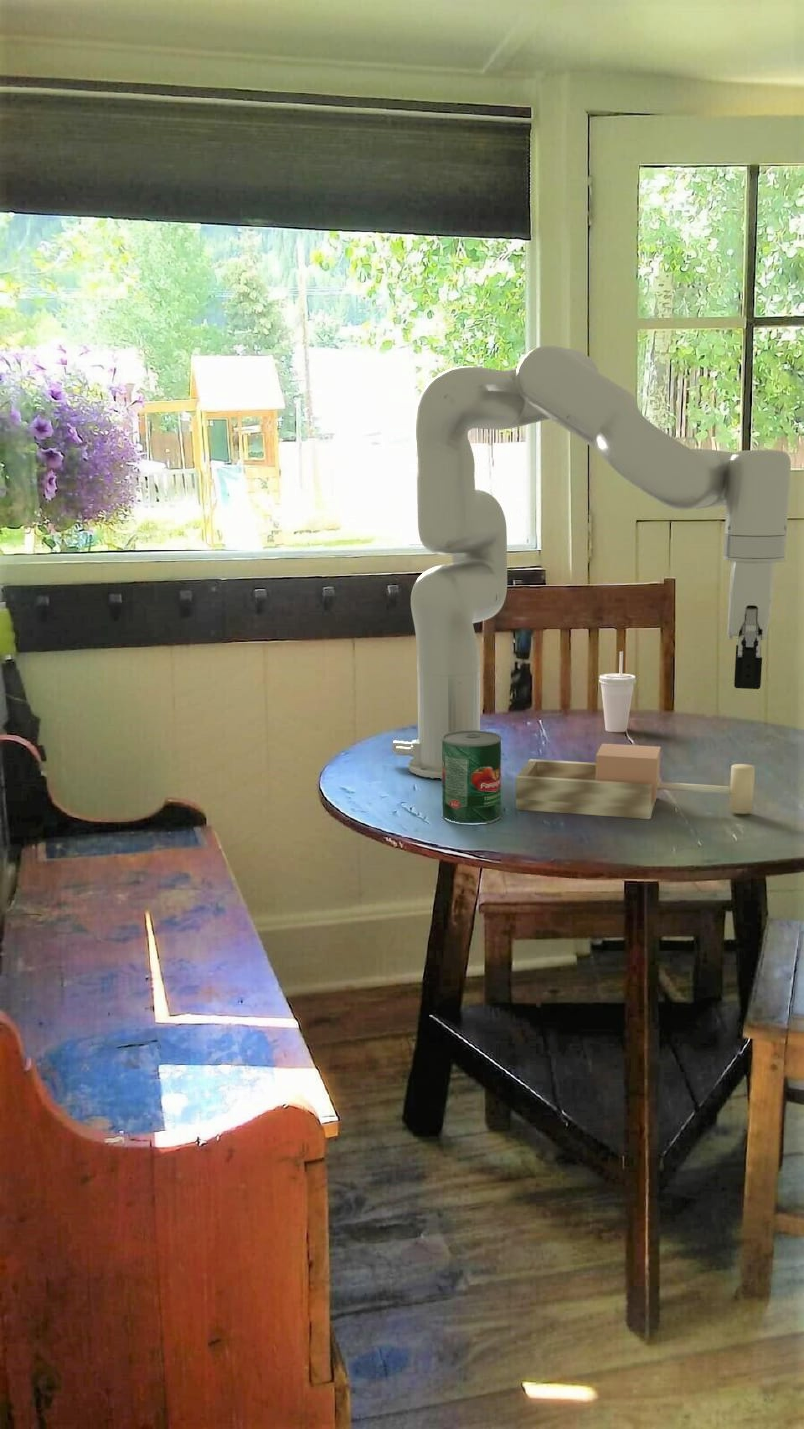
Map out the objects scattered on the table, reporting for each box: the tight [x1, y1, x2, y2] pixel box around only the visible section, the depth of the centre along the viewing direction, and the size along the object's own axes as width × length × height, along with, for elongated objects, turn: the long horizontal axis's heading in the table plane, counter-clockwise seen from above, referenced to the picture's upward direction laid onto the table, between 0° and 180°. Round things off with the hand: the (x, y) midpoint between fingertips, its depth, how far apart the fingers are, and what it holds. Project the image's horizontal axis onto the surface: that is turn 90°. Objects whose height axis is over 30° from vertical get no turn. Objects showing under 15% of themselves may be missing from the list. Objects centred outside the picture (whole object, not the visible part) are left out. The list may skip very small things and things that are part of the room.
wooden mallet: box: [595, 743, 756, 815], centre depth 155 cm, size 20×7×7 cm, turn 74°
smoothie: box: [598, 651, 637, 733], centre depth 202 cm, size 6×6×14 cm
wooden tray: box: [515, 758, 656, 820], centre depth 159 cm, size 18×11×4 cm, turn 74°
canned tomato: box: [441, 730, 502, 824], centre depth 153 cm, size 8×8×11 cm
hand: (747, 681), depth 150 cm, fingers open, 9 cm apart
